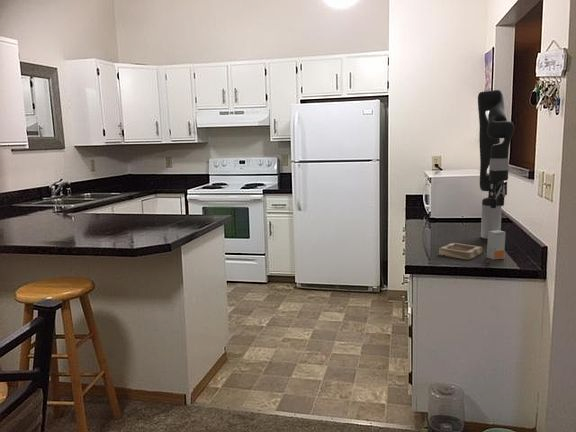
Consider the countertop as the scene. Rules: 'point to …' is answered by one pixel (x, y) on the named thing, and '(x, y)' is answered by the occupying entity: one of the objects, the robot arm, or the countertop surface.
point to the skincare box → (496, 244)
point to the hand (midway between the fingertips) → (497, 206)
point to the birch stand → (460, 250)
